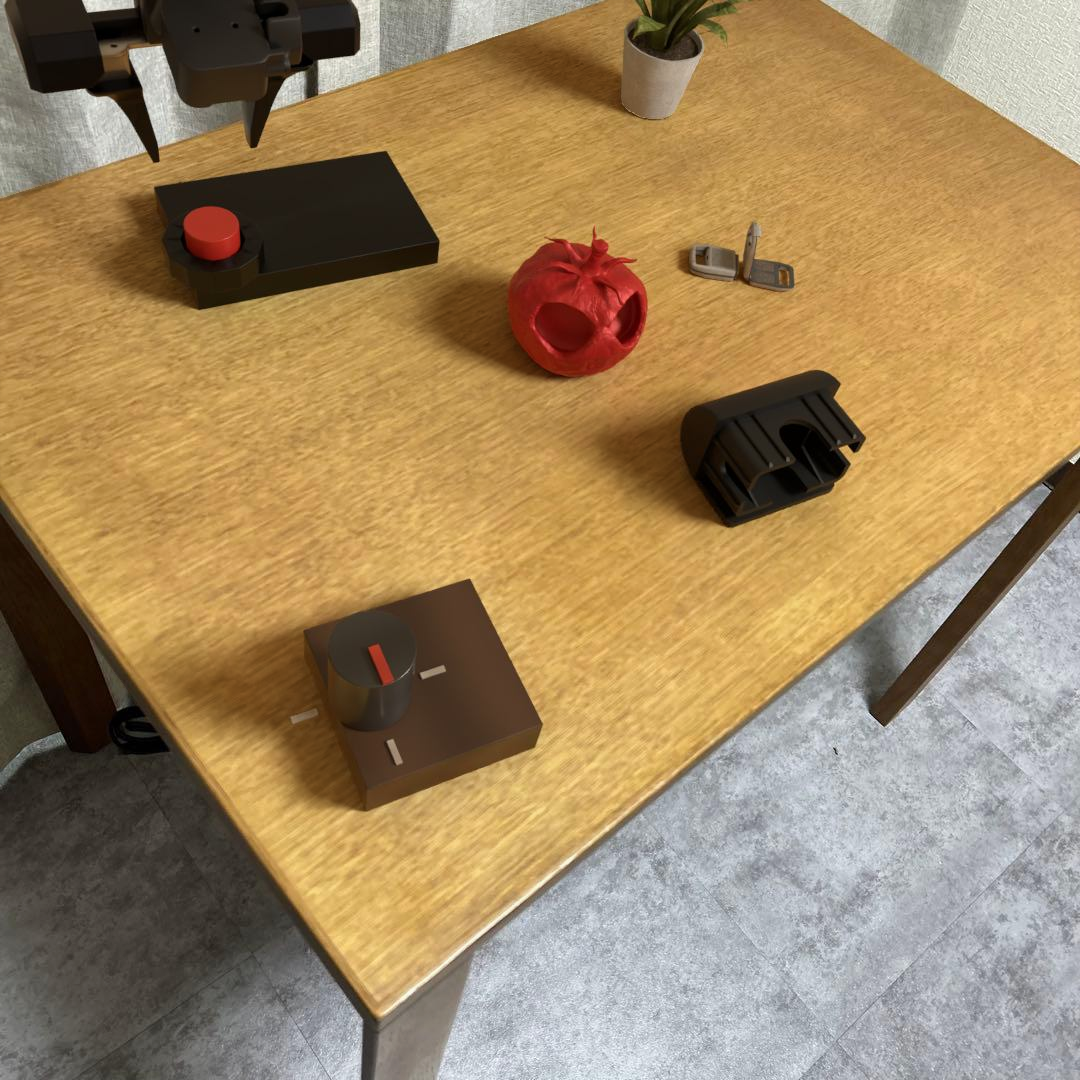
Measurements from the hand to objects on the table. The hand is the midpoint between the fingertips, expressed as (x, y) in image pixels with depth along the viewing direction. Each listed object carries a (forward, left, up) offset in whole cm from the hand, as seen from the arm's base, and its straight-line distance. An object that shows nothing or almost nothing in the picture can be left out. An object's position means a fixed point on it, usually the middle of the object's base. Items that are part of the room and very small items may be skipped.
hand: (203, 151), depth 70 cm
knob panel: (0, -36, -11) cm, 37 cm away
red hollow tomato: (+22, -13, -11) cm, 28 cm away
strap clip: (+39, -10, -11) cm, 42 cm away
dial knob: (-2, -36, -8) cm, 37 cm away
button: (0, 0, -7) cm, 7 cm away
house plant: (+42, +11, -11) cm, 45 cm away
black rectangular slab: (+7, +3, -11) cm, 13 cm away
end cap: (+29, -28, -11) cm, 42 cm away
